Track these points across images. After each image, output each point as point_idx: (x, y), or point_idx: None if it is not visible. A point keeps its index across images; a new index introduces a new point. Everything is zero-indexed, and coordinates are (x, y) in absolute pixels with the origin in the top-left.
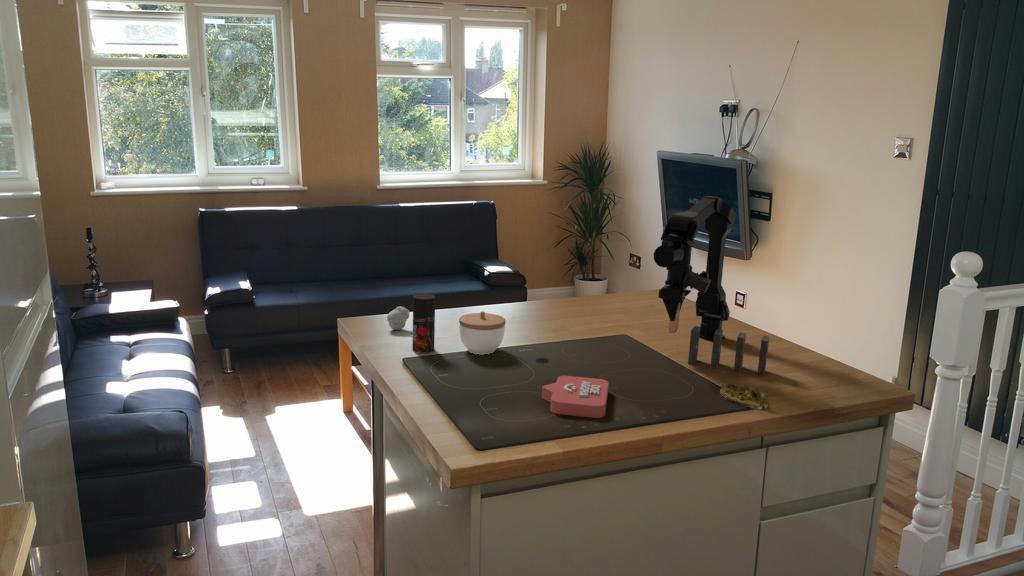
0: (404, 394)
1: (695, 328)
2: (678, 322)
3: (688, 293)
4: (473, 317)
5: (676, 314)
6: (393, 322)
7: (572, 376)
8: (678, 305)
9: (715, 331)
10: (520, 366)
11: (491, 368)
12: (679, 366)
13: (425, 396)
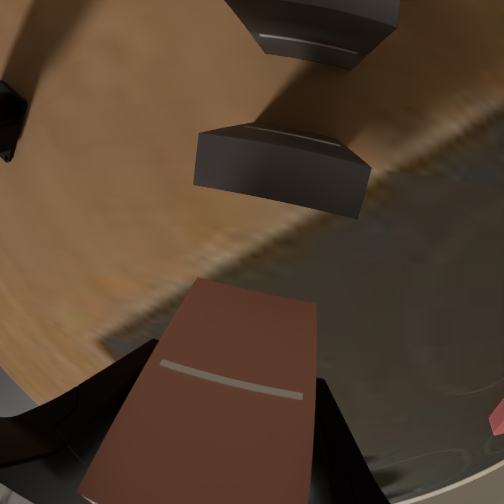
0: (464, 483)
1: (284, 177)
2: (185, 305)
3: (3, 468)
4: None
5: (294, 408)
6: None
7: (501, 425)
8: (353, 501)
9: (321, 5)
10: (393, 468)
11: (400, 479)
12: (372, 202)
13: (473, 475)
